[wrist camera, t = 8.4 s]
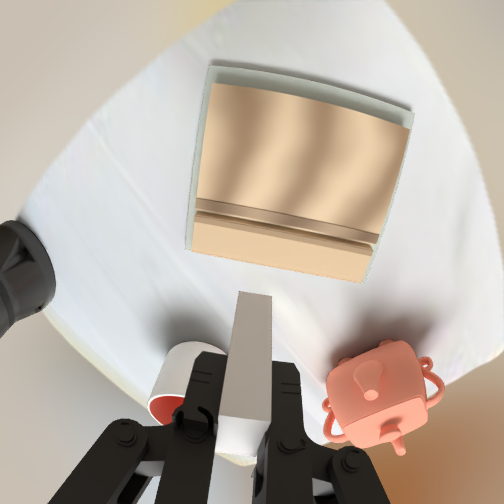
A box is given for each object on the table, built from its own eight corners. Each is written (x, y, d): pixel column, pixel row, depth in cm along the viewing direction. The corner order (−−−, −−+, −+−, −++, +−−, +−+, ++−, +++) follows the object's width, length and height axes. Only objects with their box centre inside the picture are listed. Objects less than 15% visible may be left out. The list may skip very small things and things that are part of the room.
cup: (161, 367, 41) (141, 418, 32) (179, 325, 37) (155, 382, 28) (221, 391, 42) (210, 444, 33) (248, 355, 38) (240, 414, 29)
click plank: (198, 205, 29) (194, 210, 28) (214, 83, 23) (211, 82, 22) (372, 240, 29) (375, 245, 28) (405, 128, 23) (410, 129, 22)
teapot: (348, 316, 34) (369, 397, 23) (440, 338, 35) (473, 402, 24) (302, 389, 41) (304, 460, 29) (388, 400, 42) (404, 461, 30)
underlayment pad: (187, 245, 32) (181, 254, 30) (211, 66, 24) (206, 62, 22) (362, 278, 32) (367, 289, 30) (410, 113, 24) (420, 113, 22)
